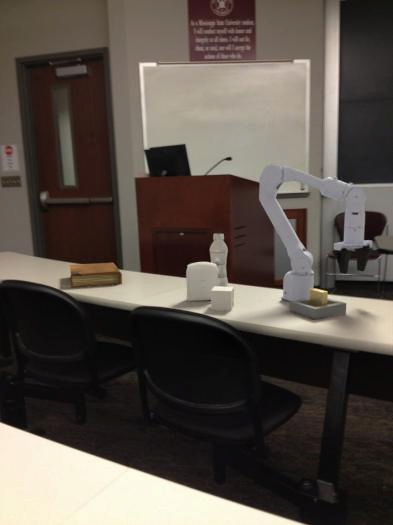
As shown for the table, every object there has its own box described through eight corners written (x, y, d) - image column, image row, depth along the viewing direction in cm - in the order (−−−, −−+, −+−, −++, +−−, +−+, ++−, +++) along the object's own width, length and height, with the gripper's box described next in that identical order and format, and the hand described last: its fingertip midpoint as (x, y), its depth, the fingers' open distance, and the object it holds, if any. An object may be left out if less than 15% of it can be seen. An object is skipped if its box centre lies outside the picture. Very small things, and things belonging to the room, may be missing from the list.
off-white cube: (211, 310, 131) (210, 290, 130) (214, 305, 136) (214, 286, 135) (231, 311, 129) (231, 291, 128) (233, 306, 135) (233, 286, 134)
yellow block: (319, 313, 123) (320, 292, 122) (307, 309, 127) (307, 289, 126) (328, 312, 125) (329, 291, 124) (316, 308, 129) (316, 288, 128)
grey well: (289, 311, 128) (289, 301, 127) (319, 305, 134) (320, 296, 133) (314, 319, 119) (315, 309, 119) (345, 313, 125) (346, 303, 124)
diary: (122, 286, 169) (121, 271, 168) (71, 289, 164) (70, 274, 163) (115, 275, 191) (115, 262, 190) (70, 277, 186) (69, 264, 185)
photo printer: (187, 301, 141) (186, 263, 139) (186, 298, 145) (185, 261, 143) (219, 300, 142) (219, 262, 140) (217, 297, 146) (217, 260, 144)
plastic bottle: (206, 291, 155) (205, 234, 152) (214, 287, 161) (214, 233, 158) (223, 293, 152) (222, 235, 149) (230, 289, 158) (230, 233, 155)
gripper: (347, 229, 125) (345, 276, 127) (381, 227, 132) (379, 271, 134) (329, 227, 131) (327, 272, 133) (362, 225, 138) (360, 268, 140)
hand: (352, 272), depth 134 cm, fingers open, 7 cm apart
